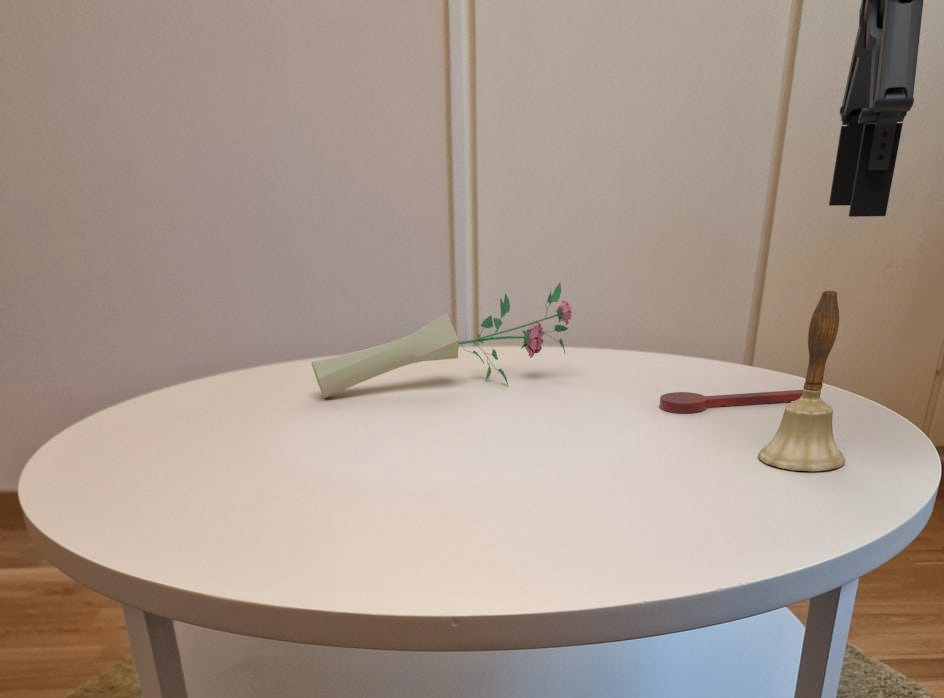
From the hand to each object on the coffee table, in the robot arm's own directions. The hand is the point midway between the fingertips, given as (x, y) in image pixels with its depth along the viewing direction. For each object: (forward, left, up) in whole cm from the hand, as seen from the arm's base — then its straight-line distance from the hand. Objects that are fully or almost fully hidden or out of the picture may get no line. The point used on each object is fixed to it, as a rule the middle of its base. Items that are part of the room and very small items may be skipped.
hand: (854, 210), depth 77 cm
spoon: (+2, -23, -23) cm, 32 cm away
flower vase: (+38, -36, -23) cm, 57 cm away
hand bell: (+1, -1, -23) cm, 23 cm away
